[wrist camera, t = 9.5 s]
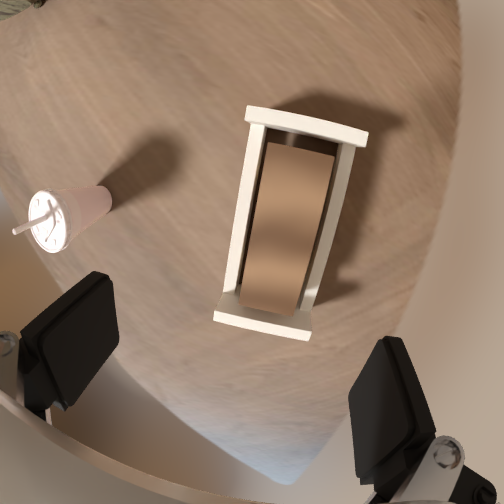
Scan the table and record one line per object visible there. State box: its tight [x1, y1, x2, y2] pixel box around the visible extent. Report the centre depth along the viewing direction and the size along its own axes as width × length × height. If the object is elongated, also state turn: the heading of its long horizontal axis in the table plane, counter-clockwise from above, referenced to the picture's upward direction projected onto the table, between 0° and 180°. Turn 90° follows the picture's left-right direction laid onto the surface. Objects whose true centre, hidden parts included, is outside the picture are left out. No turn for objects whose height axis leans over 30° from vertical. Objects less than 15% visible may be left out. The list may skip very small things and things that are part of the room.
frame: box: [213, 105, 369, 341], centre depth 25 cm, size 19×9×6 cm, turn 170°
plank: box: [238, 142, 335, 317], centre depth 24 cm, size 14×5×4 cm, turn 170°
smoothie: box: [13, 186, 112, 253], centre depth 24 cm, size 6×6×14 cm
